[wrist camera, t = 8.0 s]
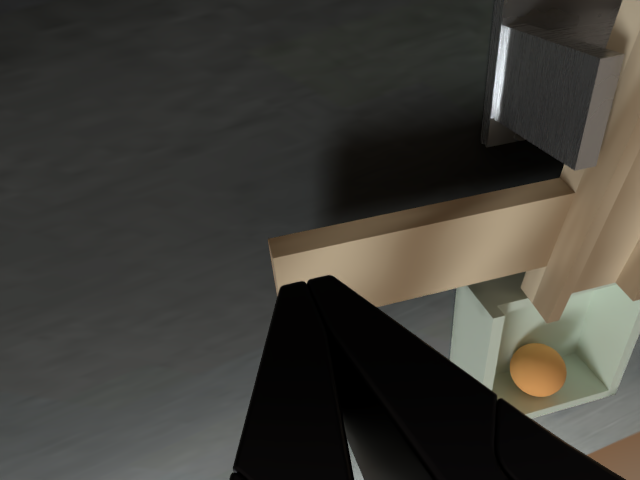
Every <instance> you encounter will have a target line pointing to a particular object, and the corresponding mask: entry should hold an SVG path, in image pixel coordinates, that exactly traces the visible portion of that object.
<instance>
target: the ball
mask: <svg viewBox="0 0 640 480" xmlns="http://www.w3.org/2000/svg"><path fill="white" fill-rule="evenodd" d="M510 373H511V377H512V379H513V381H514V383H515V384H516V385H517V386H518V387H519V388H520V389H521V390H522V391H523V392H525V393H527V394H529V395H532V396H536V397H546V396H550V395H552V394H554V393H556V392H557V391H559V390H560V389H561V388H562V386H563V385H564V383H565V380H566V374H567V371H566V365H565V363H564V360H563V359H562V357H561V356H560V354H559V353H558V352H557V351H556V350H554V349H553V348H551V347H549V346H547V345H545V344H540V343H530V344H526V345H524V346H522V347H520V348H519V349H518V350H516V352H515V353H514V354H513V356H512V358H511V361H510Z"/></svg>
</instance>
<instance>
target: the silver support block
mask: <svg viewBox="0 0 640 480" xmlns="http://www.w3.org/2000/svg"><path fill="white" fill-rule="evenodd" d="M621 3H622V0H495V5H494V14H493V24H492V34H491V43H490V53H489V62H488V72H487V81H486V91H485V100H484V110H483V119H482V129H481V139H480V142H481V143H482V144H483V145H485V146H486V147H492V146H497V145H502V144H507V143H512V142H517V141H522V140H527V141H529V142H531V143H532V144H534V145H535V146H537V147H538V148H540V149H541V150H543V151H545V152H546V153H548V154H549V155H551V156H552V157H554V158H555V159H557V160H559V161H560V162H562V163H563V164H565V165H566V166H568V167H570V168H571V169H573V170H574V171H576V170H581V169H586V168H590V167H595V166H596V165H597V161H598V157H599V153H600V149H601V145H602V141H603V137H604V134H605V130H606V126H607V122H608V118H609V114H610V110H611V106H612V102H613V98H614V94H615V91H616V87H617V83H618V79H619V75H620V71H621V67H622V63H623V59H624V55H625V54H622V53H619V52H615V51H612V50H609V49H606V46H607V43H608V40H609V37H610V34H611V31H612V29H613V26H614V23H615V20H616V17H617V15H618V12H619V9H620V6H621Z"/></svg>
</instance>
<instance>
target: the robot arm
mask: <svg viewBox="0 0 640 480" xmlns="http://www.w3.org/2000/svg"><path fill="white" fill-rule="evenodd" d="M347 440H348V442H349V445H350V447H351V449H352V452H353V454H354V456H355V459H356V461H357V464H358V466H359V468H360V471H361V473H362V476H363V478H364V480H626V479H624V478H622V477H621V476H619V475H617V474H616V473H614V472H612V471H611V470H609V469H608V468H606V467H604V466H603V465H601V464H600V463H598V462H596V461H595V460H593V459H592V458H590V457H588V456H587V455H585V454H584V453H582V452H580V451H579V450H577V449H576V448H574V447H572V446H571V445H569V444H567V443H566V442H564V441H563V440H561V439H560V438H559V437H557V436H556V435H554V434H553V433H551V432H550V431H548V430H547V429H545V428H544V427H543V426H541V425H540V424H538V423H537V422H535V421H534V420H532V419H531V418H529V417H528V416H527V415H525V414H524V413H522V412H521V411H520V410H518V409H517V408H515V407H514V406H513V405H511V404H510V403H509V402H507V401H506V400H504V399H503V398H499V399H498V400H497V394H496V393H494V392H493V391H492V390H490V389H489V388H487V387H486V386H485V385H483V384H482V383H481V382H479V381H478V380H476V379H475V378H474V377H472V376H471V375H469V374H468V373H467V372H465V371H464V370H463V369H461V368H460V367H458V366H457V365H456V364H454V363H453V362H452V361H450V360H449V359H447V358H446V357H445V356H443V355H442V354H440V353H439V352H438V351H436V350H435V349H434V348H432V347H431V346H429V345H428V344H427V343H425V342H424V341H423V340H421V339H420V338H418V337H417V336H416V335H414V334H413V333H411V332H410V331H409V330H407V329H406V328H405V327H403V326H402V325H400V324H399V323H398V322H396V321H395V320H394V319H392V318H391V317H389V316H388V315H387V314H385V313H384V312H382V311H381V310H380V309H378V308H377V307H376V306H374V305H373V304H371V303H370V302H369V301H367V300H366V299H365V298H363V297H362V296H360V295H359V294H358V293H356V292H355V291H353V290H352V289H351V288H349V287H348V286H347V285H345V284H344V283H342V282H341V281H340V280H338V279H337V278H336V277H334V276H332V275H326V276H321V277H317V278H313V279H309V280H308V282H307V284H306V283H305V282H304V281H299V282H295V283H290V284H286V285H283V286H281V287H280V289H279V293H278V296H277V300H276V304H275V308H274V312H273V316H272V319H271V323H270V327H269V331H268V335H267V339H266V342H265V346H264V350H263V354H262V358H261V362H260V366H259V369H258V373H257V377H256V381H255V385H254V389H253V392H252V396H251V400H250V404H249V408H248V412H247V416H246V419H245V423H244V427H243V431H242V435H241V439H240V442H239V446H238V450H237V454H236V458H235V462H234V466H233V471H234V473H232V474H231V476H230V480H354V476H353V470H352V465H351V459H350V454H349V448H348V443H347Z"/></svg>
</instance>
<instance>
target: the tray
mask: <svg viewBox="0 0 640 480" xmlns="http://www.w3.org/2000/svg"><path fill="white" fill-rule="evenodd" d="M525 273H526V271H525V272H521V273H517V274H513V275H509V276H505V277H500V278H496V279H492V280H488V281H484V282H479V283H475V284H471V285H467V286H463V287H459V288H456V297H455V308H454V319H453V330H452V340H451V351H450V361H452V362H453V363H454V364H456V365H457V366H458V367H460V368H461V369H463V370H464V371H465V372H467V373H468V374H469V375H471V376H472V377H474V378H475V379H476V380H478V381H479V382H481V383H482V384H483V385H485V386H486V387H487V388H489V389H490V390H492V391H493V392H494V393H496V394H497V400H498V399H499V398H503V399H504V400H506V401H507V402H509V403H510V404H511V405H513V406H514V407H515V408H517V409H518V410H520V411H521V412H522V413H524V414H525V415H527V416H528V417H529V418H531V419H532V418H535V417H539V416H542V415H546V414H549V413H553V412H556V411H560V410H563V409H566V408H570V407H573V406H577V405H580V404H584V403H587V402H591V401H594V400H598V399H601V398H604V397H608V396H611V395H615V394H616V392H617V389H618V387H619V384H620V381H621V379H622V376H623V374H624V371H625V369H626V366H627V364H628V361H629V359H630V356H631V354H632V351H633V349H634V346H635V344H636V341H637V339H638V336H639V334H640V300H636V301H632V300H631V299H630V298H629V297H628V296H627V295H626V293H625V292H624V291H623V290H622V289H621V288H620V287H619V286H618V285H617V284H616V283H611V284H607V285H603V286H599V287H595V288H591V289H587V290H583V291H579V292H575V293H572V294H571V296H570V298H569V300H568V302H567V305H566V307H565V309H564V311H563V313H562V315H561V317H560V319H559V321H555V322H551V323H546V322H545V320H544V319H543V317H542V316H541V315H540V313H539V312H538V311H537V309H536V308H535V307H534V305H533V304H532V303H531V301H530V300H529V299H528V297H527V296H526V294H525V293H524V292H523V290H522V289H521V285H522V282H523V279H524V276H525ZM530 343H540V344H545V345H547V346H549V347H551V348H553V349H554V350H556V351H557V352H558V353H559V354H560V356H561V357H562V359H563V360H564V363H565V365H566V371H567V374H566V380H565V383H564V385H563V386H562V388H561V389H560V390H559V391H557V392H556V393H554V394H552V395H550V396H546V397H536V396H532V395H529V394H527V393H525V392H523V391H522V390H521V389H520V388H519V387H518V386H517V385H516V384H515V383H514V381H513V379H512V377H511V373H510V361H511V358H512V356H513V354H514V353H515V352H516V350H518V349H519V348H520V347H522V346H524V345H526V344H530Z"/></svg>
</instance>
